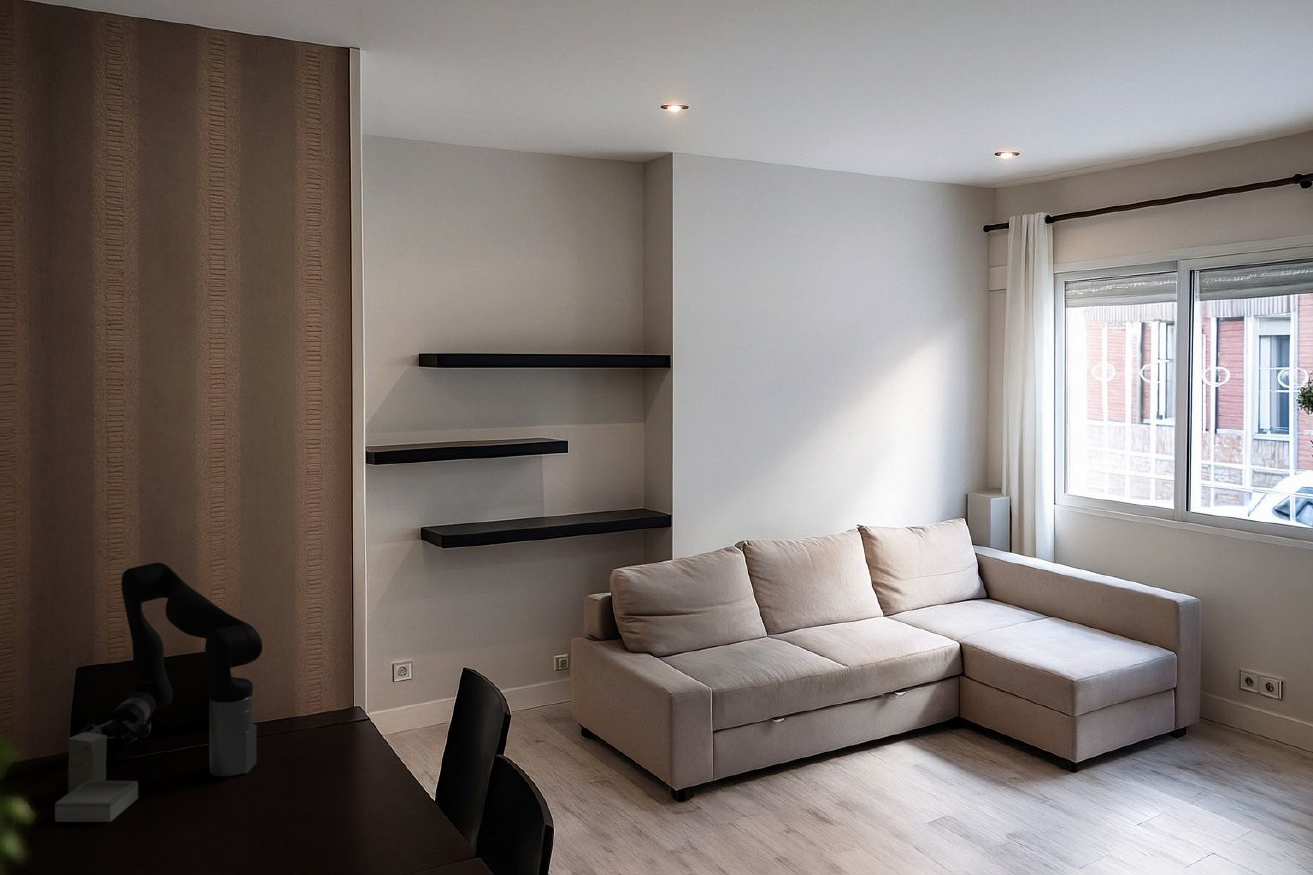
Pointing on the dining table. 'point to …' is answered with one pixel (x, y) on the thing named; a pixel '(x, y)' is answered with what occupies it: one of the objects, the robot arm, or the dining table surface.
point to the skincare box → (86, 759)
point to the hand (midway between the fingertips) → (105, 742)
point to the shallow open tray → (96, 801)
